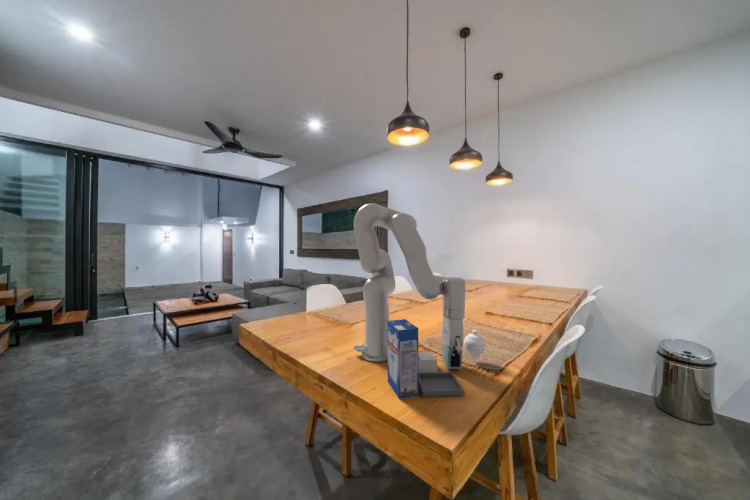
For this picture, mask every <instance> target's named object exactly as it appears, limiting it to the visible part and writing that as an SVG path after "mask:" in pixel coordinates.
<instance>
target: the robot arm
mask: <svg viewBox="0 0 750 500" xmlns="http://www.w3.org/2000/svg"><path fill="white" fill-rule="evenodd" d="M375 227H381V228H384V229H386V230H389V231H391V232H392V234H393V237H394V238H395V240H396V242H397V244H398V246H399V248H400V250H401V252H402V254H403V255H404V259H405V263H406V266H407V270H408V274H409V275H410V278H411V280H412V282H413V284H414V286H415V288H416V290H417V292H418V294H419V295H420V296H421V297H422V298H423V299H425V300H435V299H437V298H438V297H439V296H441V295H442V327H441V329H442V330H441V339H442V341H443V342H444V344H446V345H447V346H448V347H449V348H451V350H452V355H451V367H460V356H461V352H462V353H463V346H464V321H463V319H465V313H466V280H465V279H464V278H461V277H455V276H452V277H451V276H448V277H447V276H441V275H436V274H434V273H433V272H432V271H433V270H431V267H430V264H429V262H428V258H427V248H426V244H425V242H424V241H423V239H422V237H421V235H420V233H419V232H418V229H417V227H418V225H417V220H416V219H415V218H414V216H412V215H411V214H408V213H406V212H402V211H398V210H396V209H393V208H392V209H391V208H389V207H387V206H384V205H380V204H377V203H372V202H371V203H366V204H364V205H362V206H361V207H360V208H359V209H358V210H357V211H356V213H355V215H354V219H353V231H354V236H355V239H356V240H355V241H356V245H357V250H358V256H359V261H360V262H359V263H360V266H361V269H362V271H364V273H367V274H372V277H369V278H368V279H367V280H366V281H365V282H364V284H363V287H362V295H363V303H364V321H365V322H364V323H365V325H364V327H365V328H364V329H365V331H364V334H365V336H364V337H365V341H364V343H362V344H354V345H353V347H354V348H353V350H354V351H356V353H361V357H362V359H364V360H366V361H368V362H372V363H380V362H381V363H382V362H386V361H387V362H388V347H387V321H390V308H389V307H390V306H389V301H388V296H390V295H392V294H393V293H394V291H395V289H396V280H395V278H396V277H395V273H394V269H393V264H392V260H391V257H390V255H389V253H388V252H387V251H386V250H384V249H382V248H381V247H380V244H379V238H378V235H377V233H376V230H375ZM454 345H456V346H454ZM454 348H457V349H456V350H455V351H454Z"/></svg>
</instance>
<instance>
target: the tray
mask: <svg viewBox="0 0 750 500" xmlns="http://www.w3.org/2000/svg"><path fill="white" fill-rule="evenodd" d="M419 391H420V393H421V396H422V398H440V397H441V398H443V397H444V398H446V397H447V398H449V397H464V396H465V394H464V392H465V390H464V388H463V386H462V385H461V384H460V382H459V381H458V379H457V377H456V376H455V375H454V373H453V371H440V372H438V371H437V372H429V373H419Z"/></svg>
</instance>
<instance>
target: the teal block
mask: <svg viewBox="0 0 750 500" xmlns="http://www.w3.org/2000/svg"><path fill="white" fill-rule="evenodd" d="M454 346H456V345H454ZM456 349H457V348H454V351H455V350H456ZM451 355H452V350H451V348H449V347H448V346H447V345H446V344H445V343H442V362H443V364H444V366H445V367H446V369H447V370H456V369H457V370H463V369H462V368H463V351H462V352H461V356H460V367H451Z"/></svg>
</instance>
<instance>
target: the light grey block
mask: <svg viewBox="0 0 750 500" xmlns="http://www.w3.org/2000/svg"><path fill="white" fill-rule="evenodd" d="M418 368H419V373H429V372H441V370H440V368H439V367H438V358H437V357H436V355H435V354H434V352H418Z"/></svg>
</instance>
